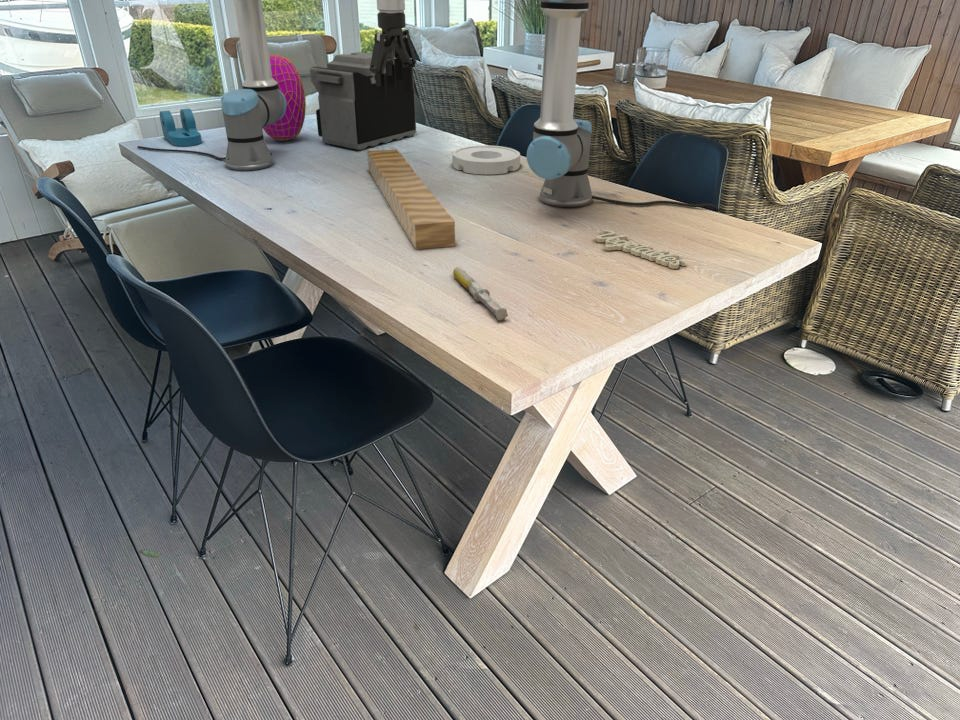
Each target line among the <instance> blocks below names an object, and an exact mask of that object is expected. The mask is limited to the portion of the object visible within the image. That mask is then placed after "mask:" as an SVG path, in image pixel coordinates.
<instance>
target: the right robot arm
mask: <svg viewBox="0 0 960 720" xmlns="http://www.w3.org/2000/svg"><path fill="white" fill-rule="evenodd" d="M405 1H406V0H376V9H377V11H380V12H377V14H376V15H377V27H378V28H380V29H381V32H375V33H374V44H373V48H372V53H371V54H372V59H371V64H370V71H371V72H372V73H375V77H376V87H377V98H380V99H387V93H386V75H385V73H383V72H384V69H385V66H386V63H387V60H388V58H389V55H390V52H392V51H393V50H395V49H396V51H397V53H398V55H399V57H400V59H401V61H402V63H403V65H404V66H405V67H402V75H403V91H408V92H412V67H413V68H415V67H416V64H417V59H416V55H415V52H414V48H413V45H412V42H411V39H410V38H411V37H410V30H409V29H405V28H406V25H407V24H406V14H405V11H406V2H405ZM589 6H590V0H540V6H539V7H540V10H541V11H542V13H543V14H544V15H545V31H544V44H543V45H544V47H543V64H542V79H541V81H542V82H541V97H540V114H539V117H538V119H537V120H536V121H535V122H534V123H533V132H532V134H533V135H532V141H531V142H530V144H529V145H528V147H527V150H526V162H527V164H528V167H529V169H530V170H531V171H532V173H534V175H535V176H537V177H538V178H541V179H543V180H544V181H543V184H542V187H541V189H540V192H539V200H540V202H542V203H543V204H546V205H549V206H553V207H558V208H559V207H560V208H580V207H584V206H588V205H589V204H591V203H592V199H593V200H596V201H601V202H606V203H611V204H617V205H623V206H635V207H645V206H650V205H662V204H663V205H674V206H681V207H687V208H706V207H707V208H712V209H713V210H715V212H721V210H720V207H718V206H717V205H716V204H712V203H695V204H694V203H687V202H681V201H673V200H652V201H643V202H635V201H633V202H632V201H623V200H616V199H612V198H611V199H610V198H606V197H601V196H596V195H593V193H592V188H591V184H590V179H589V165H590V153H591V142H592V134H593V132H592V130H593V129H592V127H593V126H592V123H591V122H590V121H589V120H585V119H579V118H574V112H575V111H574V110H575V109H574V108H575V99H576V88H577V87H576V86H577V73H578V61H579V51H580V38H581V28H582V27H581V26H582V18H583V16H584V15H585V14H586V13H587V12H588V11H589V8H590V7H589ZM403 11H404V13H403ZM374 66H375V67H374Z"/></svg>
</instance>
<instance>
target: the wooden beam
mask: <svg viewBox="0 0 960 720" xmlns="http://www.w3.org/2000/svg"><path fill="white" fill-rule="evenodd" d="M366 153H367V155H366V156H367V167H368V169H367V170H368V172H369V173H370V175H371V177H372V179H373V180H374V182H375V184H376V185H377V187H378V189H379V190H380V192H381V193H382V195H383V197H384V198H385V200H386V202H387V204H388V206H389V207H390V208H391V210H392V212H393V214H394V215H395V217H396V218H397V220H398V223H400V225H401V227H402V228H403V229H402V230H404V232H405V234H406V235H407V237H408V239H409V240H410V242H411V244H412V246H413V248H414V249H415V250H416V251H418V250H427V249H428V250H429V249H437V248H447V247H455V246H456V221H455V220H454V218H453V217H452V216H451V215H450V214H449V212H448V211H447V210H446V208H445V207H444V206H443V205H442V203H441V202H440V201H439V199H438V198H437V197H436V195H434V193H433V192H432V191H431V190H430V189H429V188H428V186H427V185H426V184H425V182H424V181H423V180H422V178H420V176H419V175H418V174H417V173H416V172H415V170H414V169H413V167H412V166H411V165H410V163H409V162H408V161H407V160H406V158H405V157H404V156H403V154H401V152H400V151H398V149H382V150H381V149H378V150H367V151H366Z"/></svg>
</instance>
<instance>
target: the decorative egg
mask: <svg viewBox="0 0 960 720" xmlns="http://www.w3.org/2000/svg"><path fill="white" fill-rule="evenodd" d="M269 58H270V65H271V72H272V78H273V79H274V80H275V81H276V82H277V83H278V89H279V90H280V91H281V93H282V94H283V95H284V97H285V99H286V112H285V114H284V116H283V117H282V118H281V119H280V120H278V121H277V122H276V123H274V124H271V125H267V126H265V127H262V129H263V132H264V133H266V135H267V136H268V137H270V138H271V139H273V140H275V141H282V142H286V141H291V140H293V139H296V138H297V137H298V136H299V134H301V131H302V129H303V127H304V123H305V118H306V104H307V103H306V102H307V101H306V99H307V97H306V93H305V88H304V84H303V81H302V77H301V75H300V73H299V71H298V69H297V67H296V66H295V65H294V63H293V62H292V61H291V60H290V59H288V58H287V57H285V56H282V55H280V54H269Z"/></svg>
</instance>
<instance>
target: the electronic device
mask: <svg viewBox="0 0 960 720" xmlns="http://www.w3.org/2000/svg"><path fill="white" fill-rule="evenodd" d="M372 54H373V53H370V52H362V51H356V52H351V53H348V54H345V53H341V54H335V55H334V56H333V59H332V60H331V61H329V62H327V63H326V66H327V67H320V66H310V67H309V74H310V82H311V83H312V85H313V86H314V88H315V90H316V91H317V93H318V95H317V98H318V99H317V100H318V109H316V110H315V116H316V125H317V135H318V137H321V138H322V142H323V143H324V144H328V145H334V146H337V147H342V148H348V149H352V150H357V151H362V150H365V149H366V148H367V147H370V148H371V147H373V148H374V147H377V146H378V145H379V144H389V143H391V142H392V141H393V140H395V141H399V140H403V138H405V137H406V138H410V137H414V135H416V133H417V114H416V113H417V112H416V89H415V82H414V81H415V79H414V77H415V76H414V67H412V92H408V91H403V80H396V87H387V80H386V93H387V99H380V98H377V87H376V77H375V73H372V72H371V71H370V64H371V59H372ZM374 67H375V66H374ZM403 67H405V66H404V65H403ZM383 73H385V75H386V66H385V69H384V72H383Z"/></svg>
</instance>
